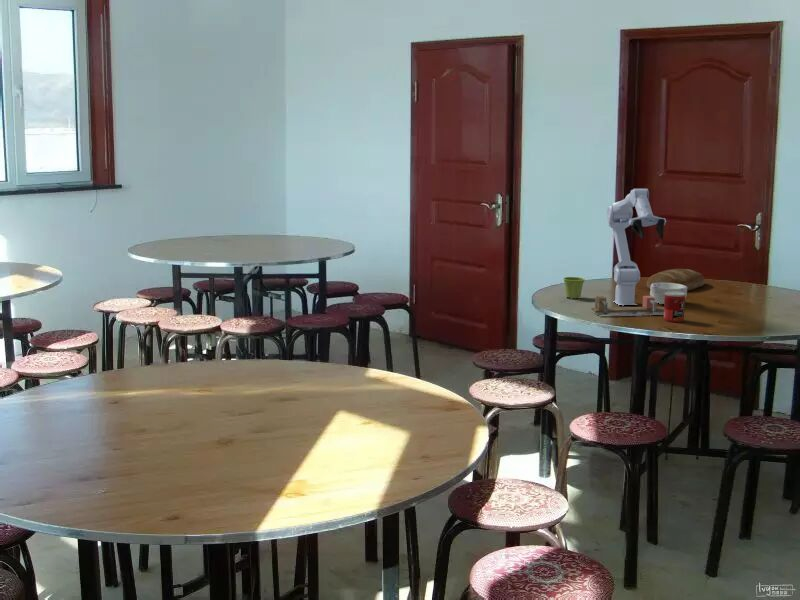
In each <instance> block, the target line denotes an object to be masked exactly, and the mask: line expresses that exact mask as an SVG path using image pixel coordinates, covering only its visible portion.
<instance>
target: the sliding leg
mask: <svg viewBox="0 0 800 600" xmlns="http://www.w3.org/2000/svg"><path fill="white" fill-rule="evenodd" d="M642 307H644V308H646V309H653V311H655V309H656V307H657V303H656V302H655V299H654V297H652V296H650V295H643V296H642Z"/></svg>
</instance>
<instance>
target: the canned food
mask: <svg viewBox="0 0 800 600" xmlns="http://www.w3.org/2000/svg"><path fill="white" fill-rule="evenodd" d="M685 306H686V298H685V293H683V292H675V291H670V292H665V300H664V305H663V307H664V316H663V320H664V321H665V322H667V321H669V322H668V323H675V322H678V323H682V322H684V320H685Z"/></svg>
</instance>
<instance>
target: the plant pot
mask: <svg viewBox="0 0 800 600" xmlns="http://www.w3.org/2000/svg"><path fill="white" fill-rule="evenodd" d="M562 280H563V282H564V287H565V288H564V289H565V298H566V297H570V298H578V299H580V298H581V295H582V290H583V285H584V282H585V278H584V277H578V276H565V277H563V278H562ZM579 297H580V298H579ZM570 298H569V299H570Z"/></svg>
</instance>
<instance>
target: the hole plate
mask: <svg viewBox="0 0 800 600" xmlns="http://www.w3.org/2000/svg"><path fill="white" fill-rule="evenodd" d="M595 313H597V314H598V315H621V316H636V317H643V316H642V315H650V316H649V317H652V316H651V315H664V311H637V312H595Z"/></svg>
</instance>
